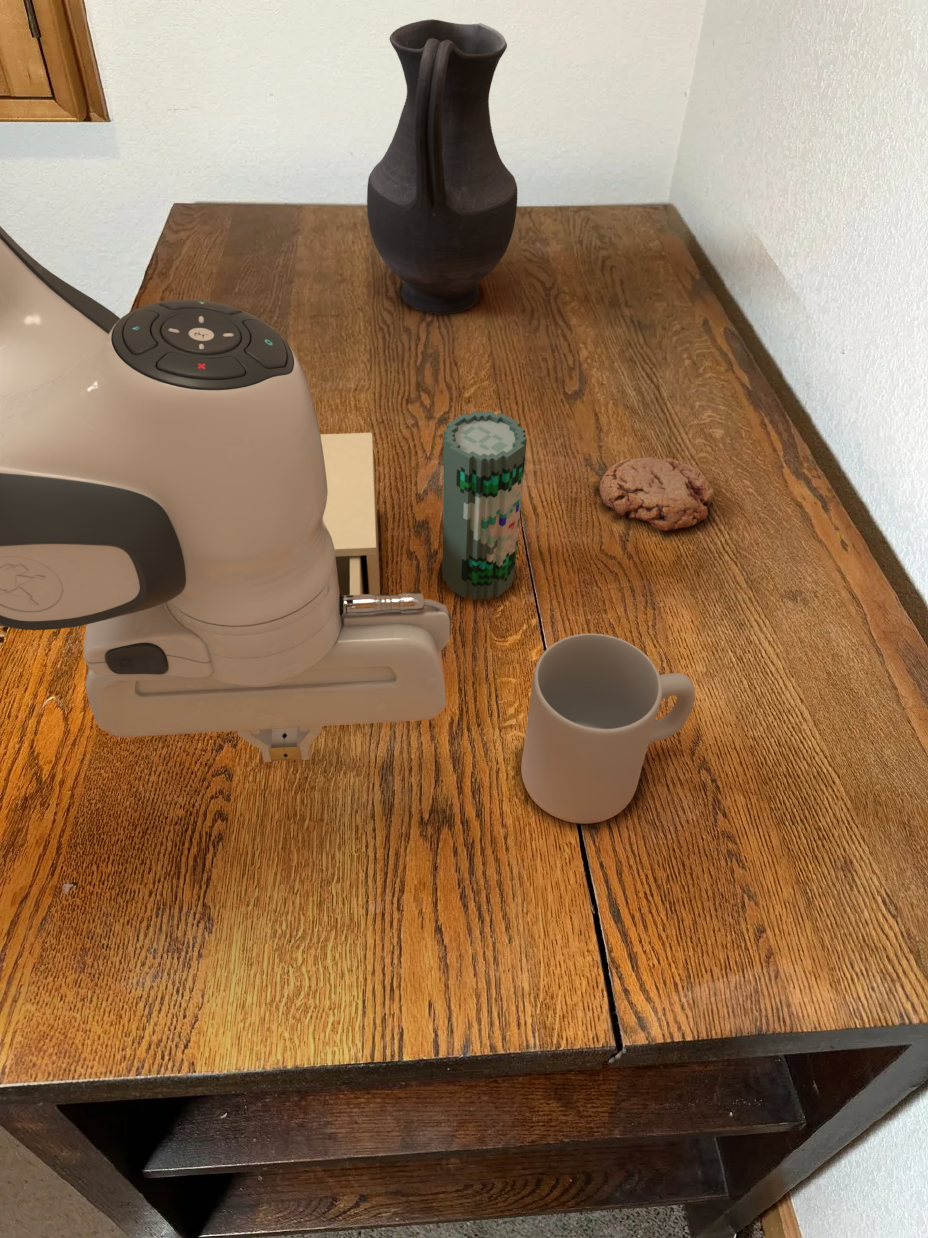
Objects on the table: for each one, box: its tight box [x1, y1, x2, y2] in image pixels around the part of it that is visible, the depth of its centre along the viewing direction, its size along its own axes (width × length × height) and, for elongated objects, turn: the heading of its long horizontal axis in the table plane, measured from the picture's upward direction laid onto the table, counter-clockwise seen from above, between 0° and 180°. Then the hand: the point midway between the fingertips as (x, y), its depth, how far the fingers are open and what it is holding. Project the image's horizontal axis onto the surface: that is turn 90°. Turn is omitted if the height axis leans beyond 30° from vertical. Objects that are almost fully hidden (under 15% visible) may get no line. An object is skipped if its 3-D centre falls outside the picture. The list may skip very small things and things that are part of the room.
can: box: [441, 410, 528, 601], centre depth 77 cm, size 6×6×15 cm
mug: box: [520, 632, 696, 825], centre depth 65 cm, size 12×8×11 cm
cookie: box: [599, 456, 715, 531], centre depth 89 cm, size 10×11×3 cm
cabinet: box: [320, 432, 381, 596], centre depth 78 cm, size 15×13×10 cm
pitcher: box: [366, 18, 518, 315], centre depth 104 cm, size 17×21×30 cm
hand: (287, 752), depth 60 cm, fingers closed
